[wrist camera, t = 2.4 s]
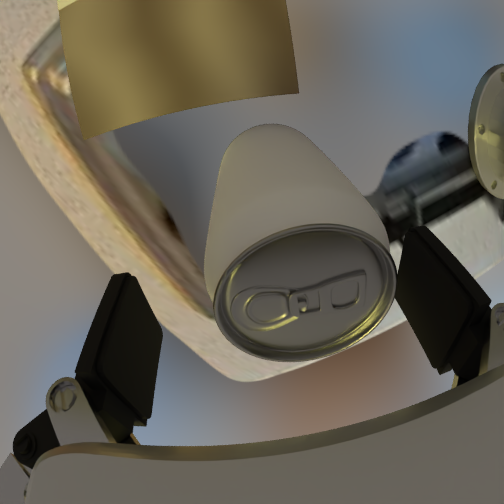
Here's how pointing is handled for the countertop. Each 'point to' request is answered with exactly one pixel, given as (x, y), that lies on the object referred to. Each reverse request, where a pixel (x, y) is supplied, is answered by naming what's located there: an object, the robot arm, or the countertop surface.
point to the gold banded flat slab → (172, 56)
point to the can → (293, 250)
